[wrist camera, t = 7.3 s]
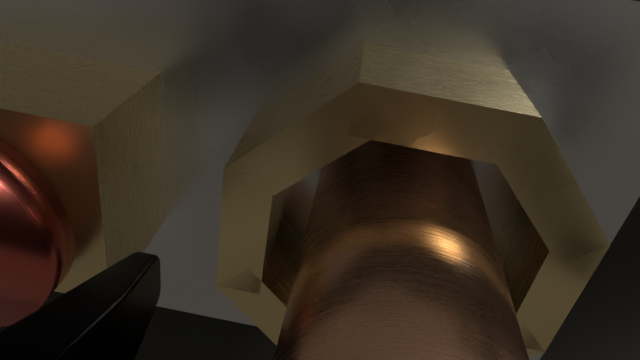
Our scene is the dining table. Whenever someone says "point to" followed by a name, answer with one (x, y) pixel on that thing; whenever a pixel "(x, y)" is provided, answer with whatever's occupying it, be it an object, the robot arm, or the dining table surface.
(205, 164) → the panel with octagonal sockets
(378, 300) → the pipe stub
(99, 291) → the robot arm
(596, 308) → the dining table surface
